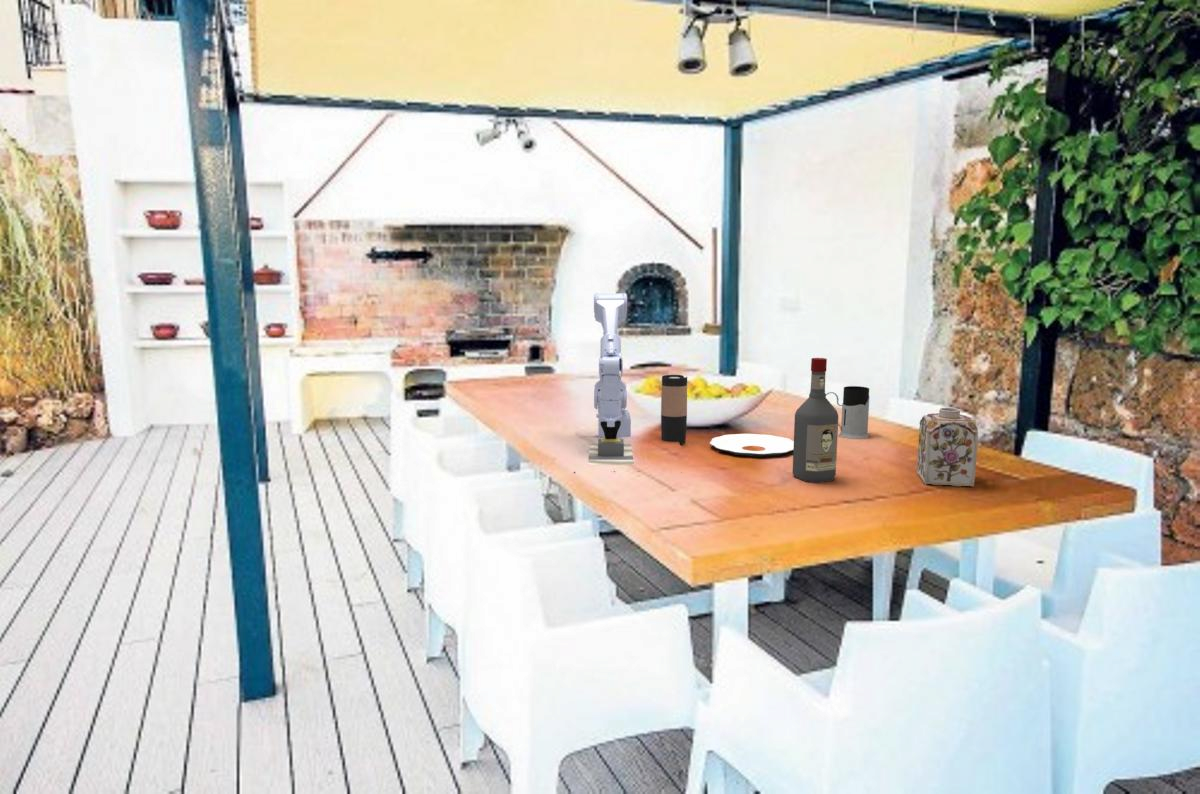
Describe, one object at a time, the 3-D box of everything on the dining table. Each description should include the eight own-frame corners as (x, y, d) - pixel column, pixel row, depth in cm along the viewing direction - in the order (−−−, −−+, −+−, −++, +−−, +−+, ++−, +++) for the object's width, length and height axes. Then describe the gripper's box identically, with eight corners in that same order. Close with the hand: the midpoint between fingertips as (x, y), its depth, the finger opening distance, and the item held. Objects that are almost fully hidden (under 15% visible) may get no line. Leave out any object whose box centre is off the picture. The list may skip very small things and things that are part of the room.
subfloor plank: (589, 448, 237) (589, 443, 237) (631, 448, 237) (631, 444, 237) (588, 469, 213) (588, 464, 213) (634, 469, 213) (634, 464, 213)
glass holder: (872, 439, 248) (875, 390, 246) (825, 438, 249) (827, 390, 246) (863, 433, 257) (866, 385, 254) (818, 432, 257) (820, 385, 255)
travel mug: (657, 444, 241) (658, 377, 238) (665, 439, 248) (666, 374, 245) (682, 446, 238) (683, 378, 235) (689, 441, 245) (690, 375, 242)
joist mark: (588, 460, 223) (588, 456, 222) (632, 460, 223) (632, 456, 222) (588, 464, 219) (588, 459, 218) (633, 464, 219) (633, 459, 218)
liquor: (787, 474, 208) (792, 357, 203) (817, 471, 211) (822, 355, 206) (809, 483, 199) (815, 361, 194) (840, 480, 203) (846, 360, 198)
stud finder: (598, 451, 227) (598, 438, 227) (623, 451, 227) (623, 438, 227) (597, 456, 222) (598, 442, 222) (623, 456, 222) (623, 442, 222)
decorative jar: (964, 475, 207) (969, 405, 204) (975, 488, 196) (981, 414, 193) (914, 472, 210) (919, 403, 207) (922, 485, 198) (927, 412, 195)
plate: (743, 436, 254) (743, 430, 254) (815, 449, 236) (815, 442, 236) (692, 449, 237) (692, 442, 236) (765, 464, 219) (765, 457, 219)
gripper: (596, 394, 233) (596, 441, 235) (595, 403, 219) (595, 453, 221) (621, 394, 233) (621, 441, 235) (622, 403, 219) (622, 453, 221)
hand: (610, 447), depth 228 cm, fingers closed
